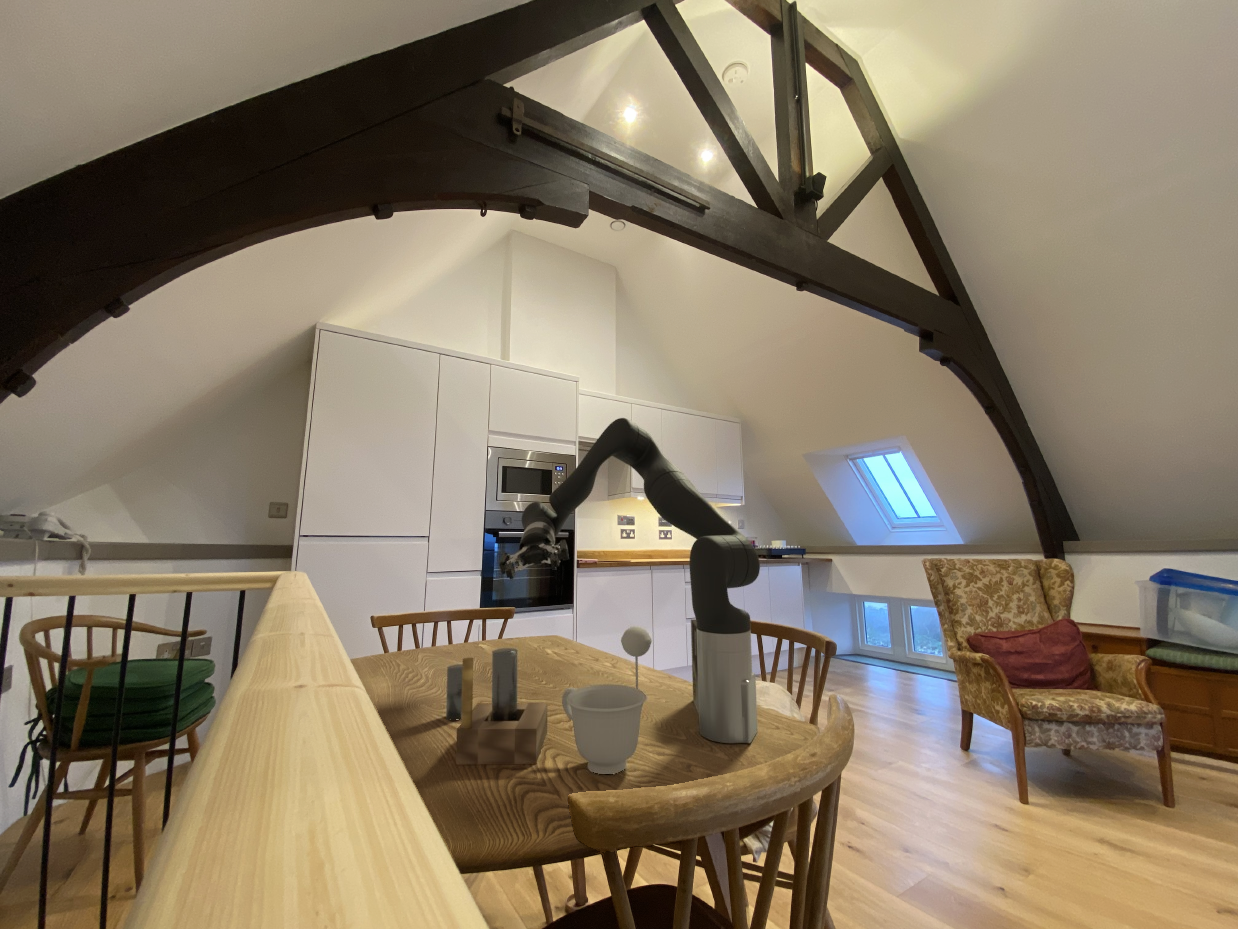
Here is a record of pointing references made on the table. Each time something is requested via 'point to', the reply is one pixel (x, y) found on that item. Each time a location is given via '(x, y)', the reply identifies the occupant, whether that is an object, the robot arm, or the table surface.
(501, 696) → the long pin
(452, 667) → the short pin
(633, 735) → the teacup
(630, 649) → the lollipop
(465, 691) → the hole block
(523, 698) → the table surface
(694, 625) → the coffee box
